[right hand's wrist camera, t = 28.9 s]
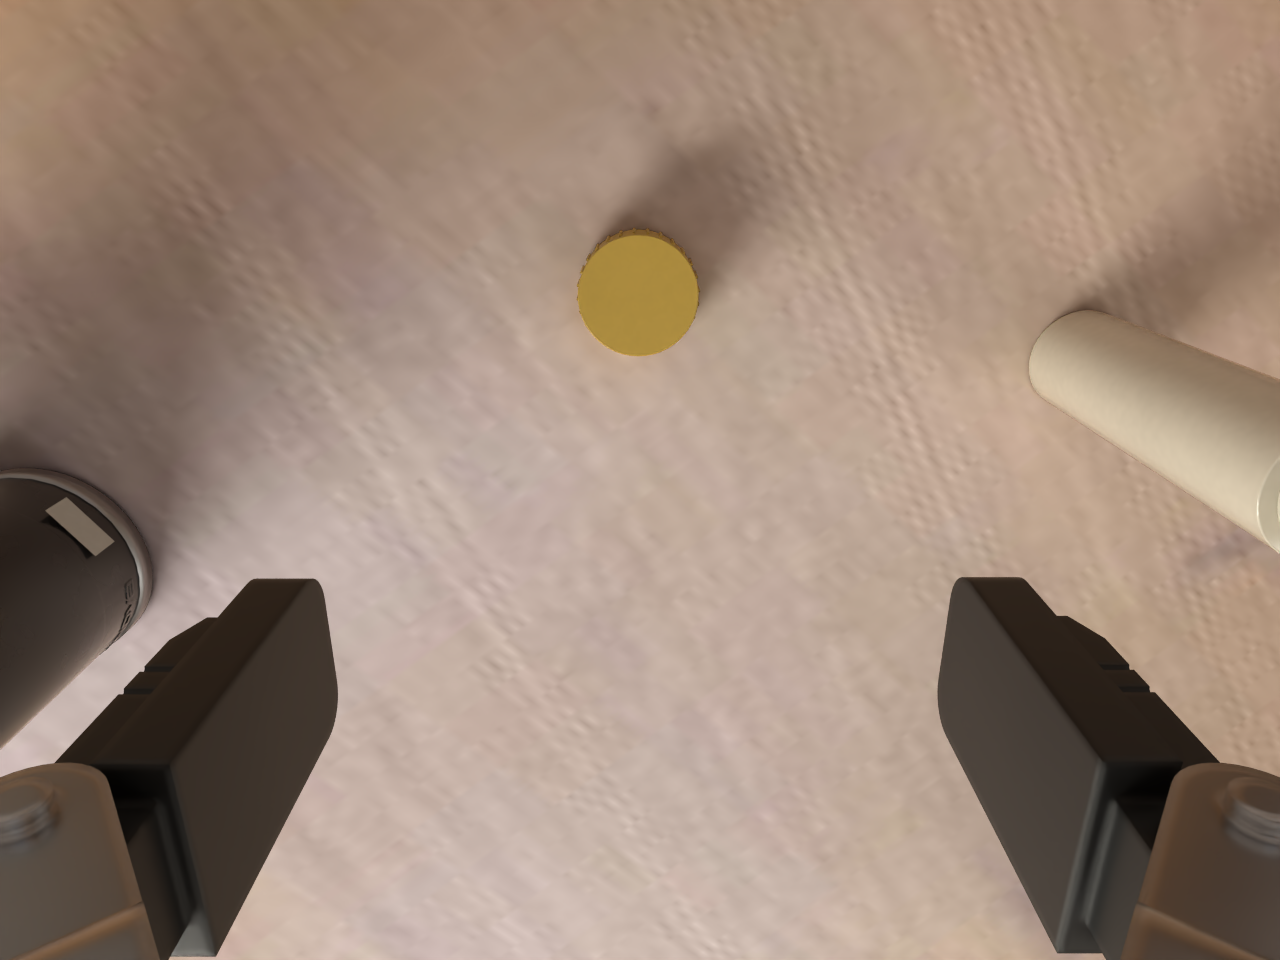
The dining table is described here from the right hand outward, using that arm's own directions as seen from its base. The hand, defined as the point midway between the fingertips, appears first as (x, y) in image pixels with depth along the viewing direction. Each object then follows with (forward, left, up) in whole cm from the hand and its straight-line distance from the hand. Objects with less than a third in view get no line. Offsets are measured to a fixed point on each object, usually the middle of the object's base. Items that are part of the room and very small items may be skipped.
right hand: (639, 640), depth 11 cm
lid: (0, 0, -26) cm, 26 cm away
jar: (+18, +7, -28) cm, 34 cm away
